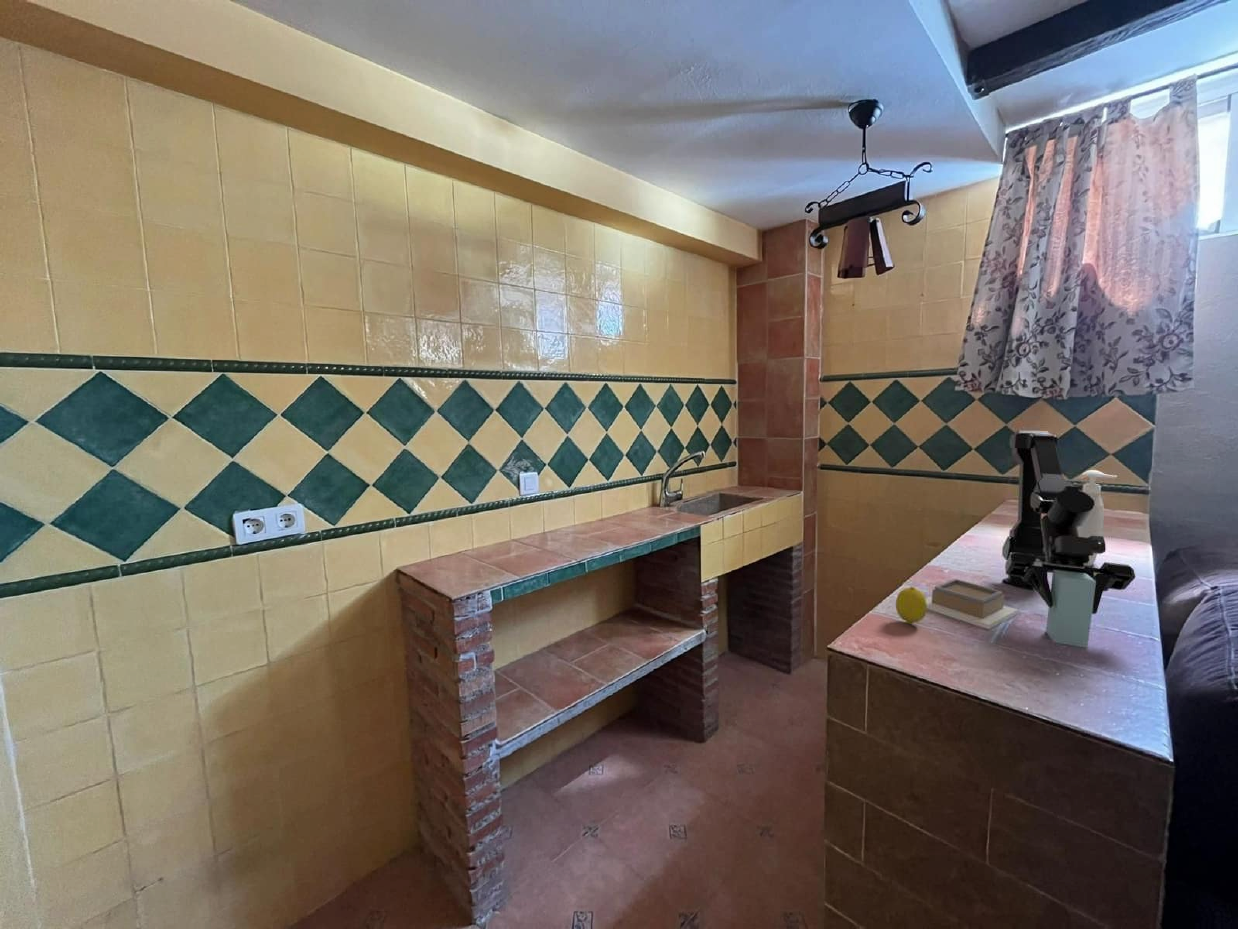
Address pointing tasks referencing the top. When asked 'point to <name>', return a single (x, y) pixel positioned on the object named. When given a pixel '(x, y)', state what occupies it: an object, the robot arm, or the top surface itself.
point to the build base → (974, 619)
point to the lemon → (911, 605)
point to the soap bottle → (1096, 516)
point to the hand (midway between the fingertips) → (1072, 609)
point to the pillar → (1070, 608)
